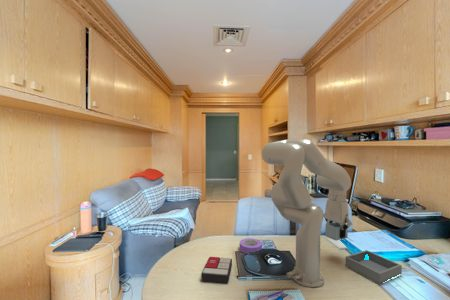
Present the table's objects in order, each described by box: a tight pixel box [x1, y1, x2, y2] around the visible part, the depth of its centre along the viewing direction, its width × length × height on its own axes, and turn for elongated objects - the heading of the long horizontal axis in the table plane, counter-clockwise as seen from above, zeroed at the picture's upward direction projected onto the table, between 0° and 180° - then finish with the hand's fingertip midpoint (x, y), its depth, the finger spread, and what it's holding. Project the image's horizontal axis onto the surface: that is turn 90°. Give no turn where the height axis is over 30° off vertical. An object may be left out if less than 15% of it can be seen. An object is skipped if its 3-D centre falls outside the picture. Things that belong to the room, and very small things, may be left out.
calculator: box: [200, 256, 233, 285], centre depth 98 cm, size 11×4×15 cm
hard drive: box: [326, 237, 347, 251], centre depth 125 cm, size 2×8×12 cm
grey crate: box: [344, 249, 403, 286], centre depth 99 cm, size 15×15×4 cm
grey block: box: [324, 222, 349, 241], centre depth 109 cm, size 8×6×6 cm
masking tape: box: [239, 237, 263, 254], centre depth 119 cm, size 12×12×4 cm
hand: (336, 234), depth 109 cm, fingers closed on grey block, 6 cm apart
